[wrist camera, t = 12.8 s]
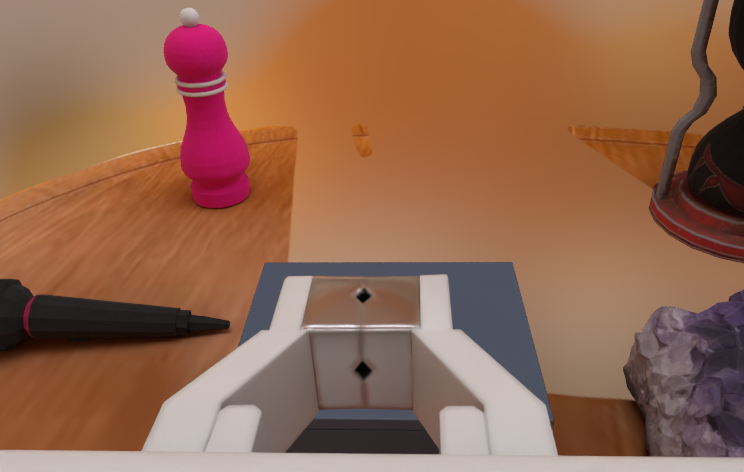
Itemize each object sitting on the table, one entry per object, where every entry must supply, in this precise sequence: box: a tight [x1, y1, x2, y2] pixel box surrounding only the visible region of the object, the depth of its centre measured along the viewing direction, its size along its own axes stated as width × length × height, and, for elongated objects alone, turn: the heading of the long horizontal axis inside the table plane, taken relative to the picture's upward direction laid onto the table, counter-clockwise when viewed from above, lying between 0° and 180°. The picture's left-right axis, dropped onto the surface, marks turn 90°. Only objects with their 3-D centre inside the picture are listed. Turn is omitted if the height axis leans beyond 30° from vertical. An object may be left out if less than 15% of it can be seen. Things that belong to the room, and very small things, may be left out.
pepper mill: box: [164, 8, 250, 208], centre depth 64 cm, size 7×7×20 cm
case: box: [285, 429, 439, 454], centre depth 38 cm, size 13×17×8 cm
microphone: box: [0, 279, 230, 351], centre depth 49 cm, size 6×6×20 cm
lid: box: [238, 262, 554, 430], centre depth 36 cm, size 13×17×1 cm
